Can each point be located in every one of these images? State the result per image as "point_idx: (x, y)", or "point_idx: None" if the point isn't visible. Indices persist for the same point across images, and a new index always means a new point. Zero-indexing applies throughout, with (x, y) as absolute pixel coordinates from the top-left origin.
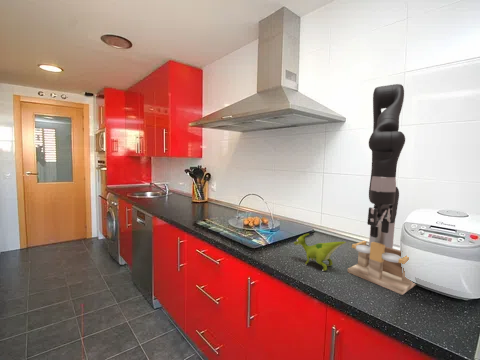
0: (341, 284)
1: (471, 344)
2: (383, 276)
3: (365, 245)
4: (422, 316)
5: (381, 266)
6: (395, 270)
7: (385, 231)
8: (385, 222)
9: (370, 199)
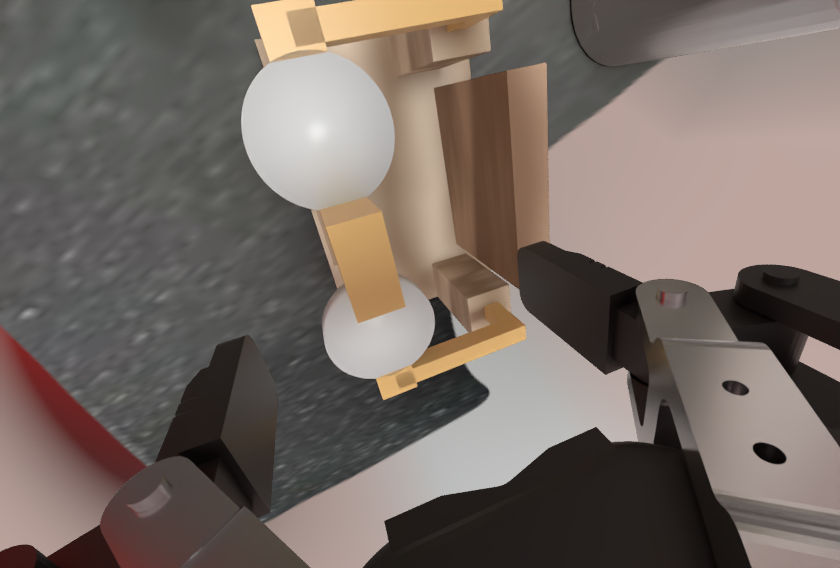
0: (87, 158)
1: (294, 504)
2: (386, 210)
3: (384, 98)
4: (283, 419)
5: None
6: (463, 224)
7: (528, 291)
8: (616, 338)
9: None
